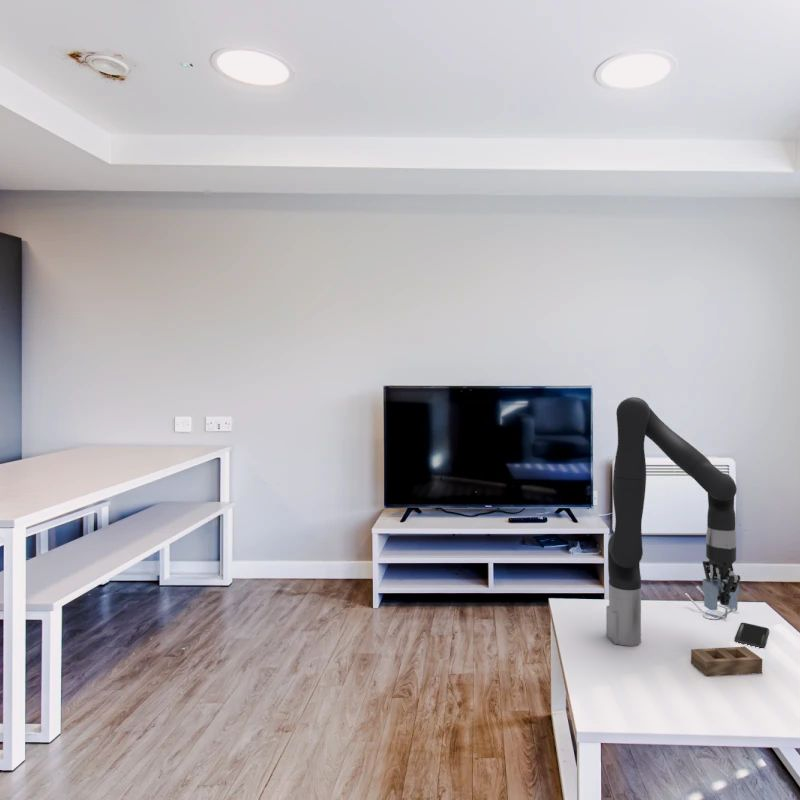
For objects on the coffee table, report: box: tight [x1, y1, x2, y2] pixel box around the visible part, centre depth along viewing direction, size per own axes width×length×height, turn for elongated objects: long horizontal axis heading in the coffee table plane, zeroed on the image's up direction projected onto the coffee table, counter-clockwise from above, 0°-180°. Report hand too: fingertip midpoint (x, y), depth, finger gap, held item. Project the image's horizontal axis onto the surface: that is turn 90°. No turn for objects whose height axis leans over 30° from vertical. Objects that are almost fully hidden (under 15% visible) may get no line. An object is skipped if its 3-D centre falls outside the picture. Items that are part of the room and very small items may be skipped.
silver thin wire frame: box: [684, 585, 738, 621], centre depth 194 cm, size 16×14×6 cm
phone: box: [734, 622, 770, 649], centre depth 175 cm, size 8×1×15 cm
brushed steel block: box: [702, 578, 740, 610], centre depth 163 cm, size 9×3×8 cm, turn 95°
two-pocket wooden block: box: [690, 646, 763, 677], centre depth 157 cm, size 16×7×4 cm, turn 94°
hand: (720, 601), depth 163 cm, fingers closed on brushed steel block, 3 cm apart
